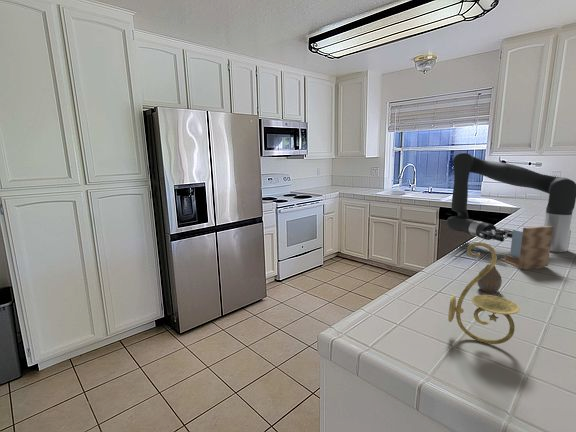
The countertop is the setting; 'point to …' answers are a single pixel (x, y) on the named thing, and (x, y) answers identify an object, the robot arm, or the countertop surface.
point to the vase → (490, 281)
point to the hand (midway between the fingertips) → (511, 238)
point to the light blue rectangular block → (516, 243)
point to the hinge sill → (533, 248)
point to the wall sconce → (484, 302)
